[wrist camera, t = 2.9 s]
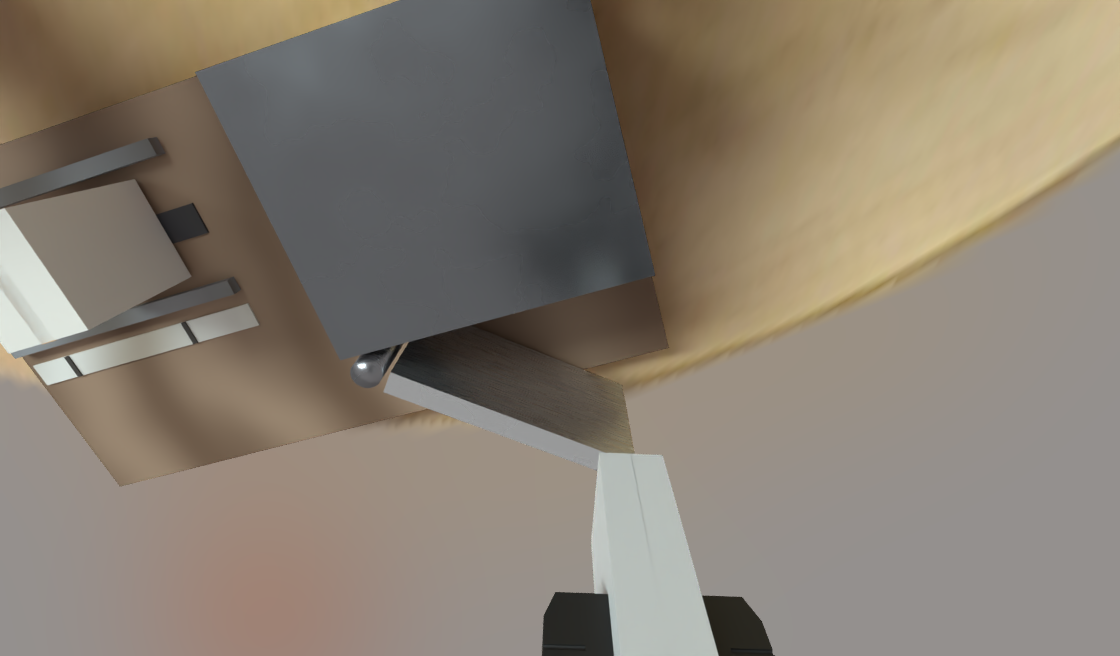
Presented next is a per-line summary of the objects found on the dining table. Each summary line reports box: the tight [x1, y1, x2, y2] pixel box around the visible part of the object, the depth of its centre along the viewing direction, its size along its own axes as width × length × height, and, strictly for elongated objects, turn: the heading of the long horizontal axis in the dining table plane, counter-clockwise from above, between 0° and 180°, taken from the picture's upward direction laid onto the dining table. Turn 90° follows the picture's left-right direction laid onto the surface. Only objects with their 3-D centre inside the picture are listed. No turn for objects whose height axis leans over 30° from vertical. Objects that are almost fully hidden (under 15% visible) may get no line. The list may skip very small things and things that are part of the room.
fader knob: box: [0, 179, 192, 353], centre depth 19 cm, size 3×4×5 cm
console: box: [0, 76, 669, 486], centre depth 23 cm, size 27×15×2 cm, turn 106°
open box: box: [195, 0, 655, 360], centre depth 18 cm, size 10×8×6 cm
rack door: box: [350, 325, 635, 471], centre depth 21 cm, size 10×2×6 cm, turn 66°
